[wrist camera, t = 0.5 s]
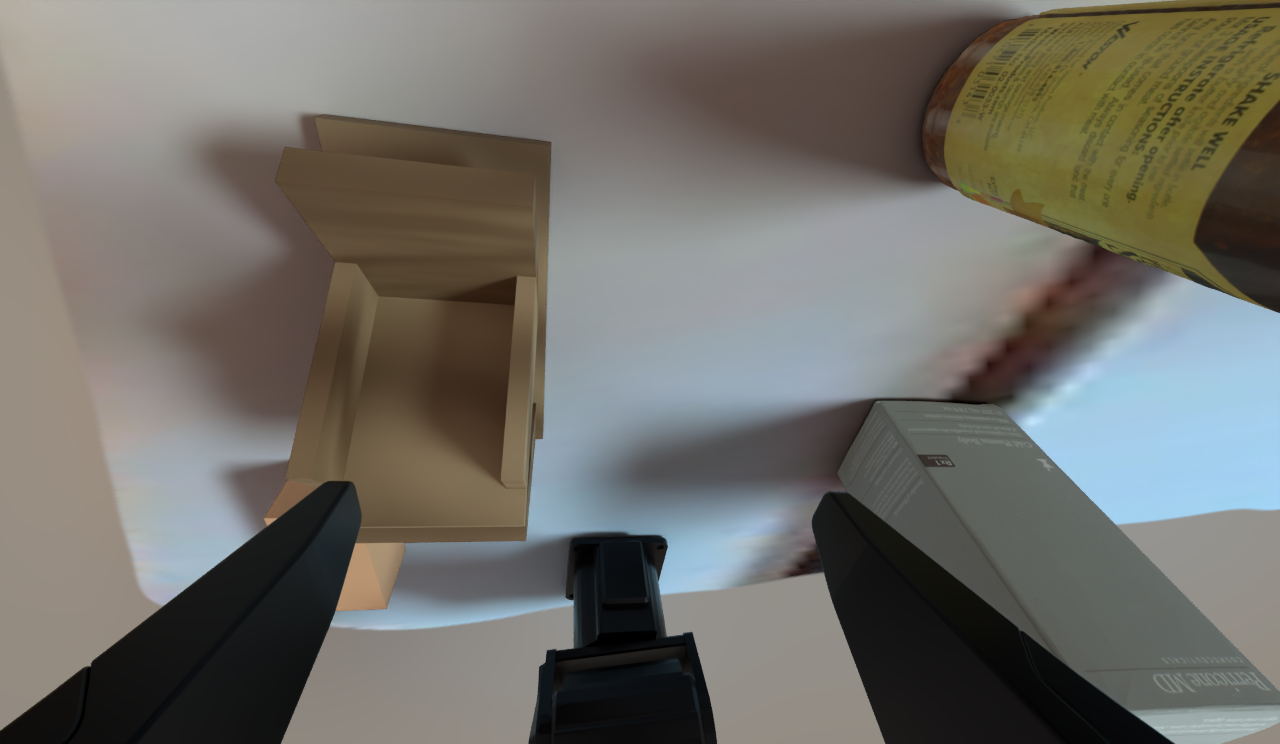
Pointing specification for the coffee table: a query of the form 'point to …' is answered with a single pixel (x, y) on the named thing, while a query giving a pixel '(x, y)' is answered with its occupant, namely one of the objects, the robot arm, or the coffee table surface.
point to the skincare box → (1053, 565)
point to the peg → (353, 559)
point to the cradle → (426, 325)
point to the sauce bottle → (1128, 133)
